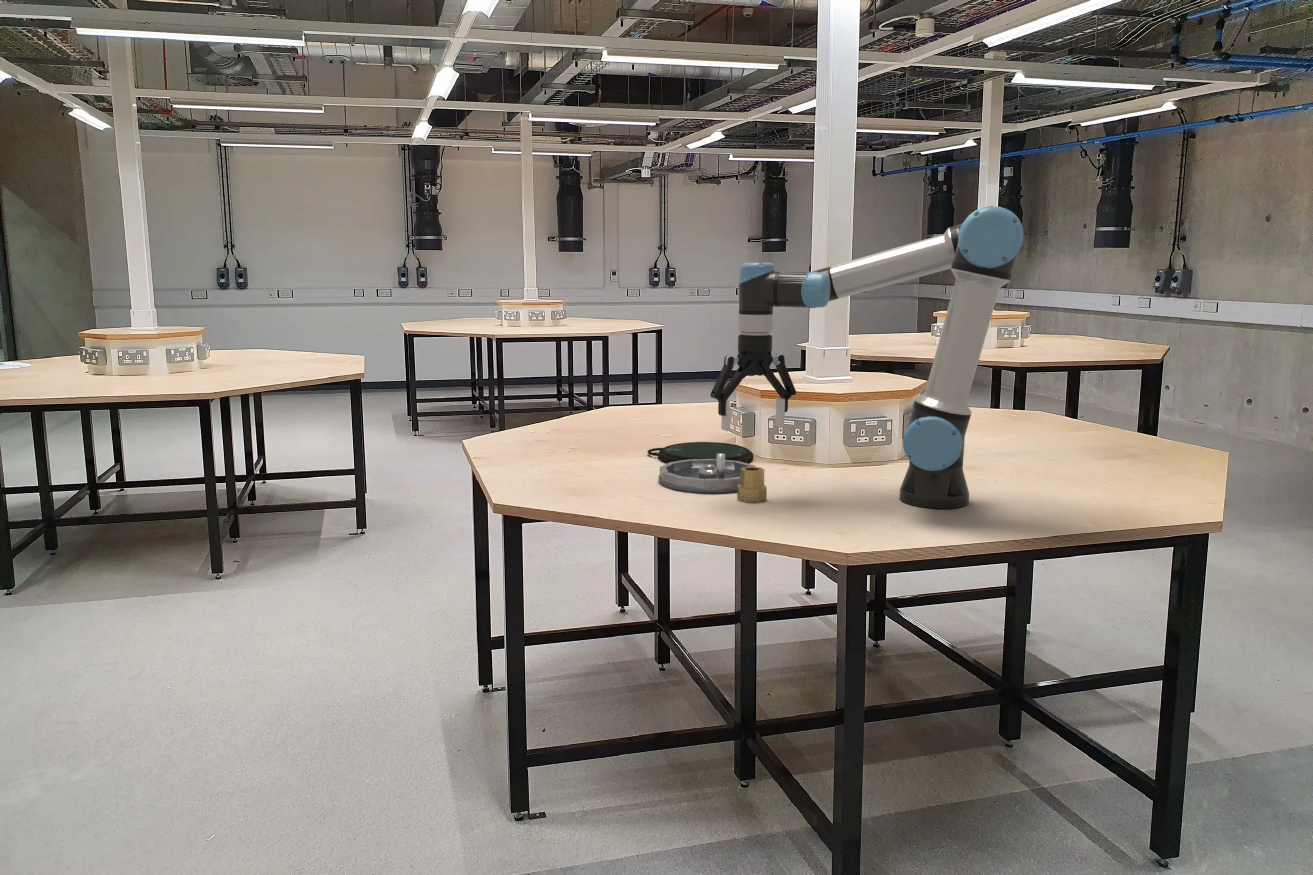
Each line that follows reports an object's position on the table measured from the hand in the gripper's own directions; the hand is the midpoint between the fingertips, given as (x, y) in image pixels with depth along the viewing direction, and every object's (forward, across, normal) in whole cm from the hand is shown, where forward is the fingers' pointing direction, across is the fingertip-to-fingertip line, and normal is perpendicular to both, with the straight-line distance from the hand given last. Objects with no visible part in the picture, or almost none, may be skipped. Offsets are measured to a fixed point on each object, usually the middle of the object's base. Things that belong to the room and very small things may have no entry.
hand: (752, 428), depth 208 cm
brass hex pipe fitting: (+16, 0, 0) cm, 16 cm away
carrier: (+16, +2, -19) cm, 25 cm away
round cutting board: (+17, -7, -47) cm, 50 cm away
